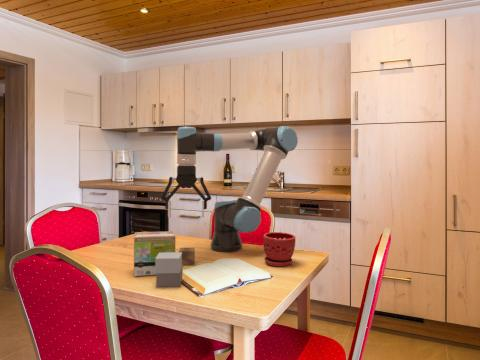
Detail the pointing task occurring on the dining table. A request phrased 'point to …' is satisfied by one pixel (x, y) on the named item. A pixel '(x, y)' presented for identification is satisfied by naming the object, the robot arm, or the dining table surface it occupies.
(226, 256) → the dining table surface
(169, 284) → the dark grey block
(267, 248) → the plant pot
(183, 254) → the walnut cube
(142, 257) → the tea box
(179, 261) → the grey square block
